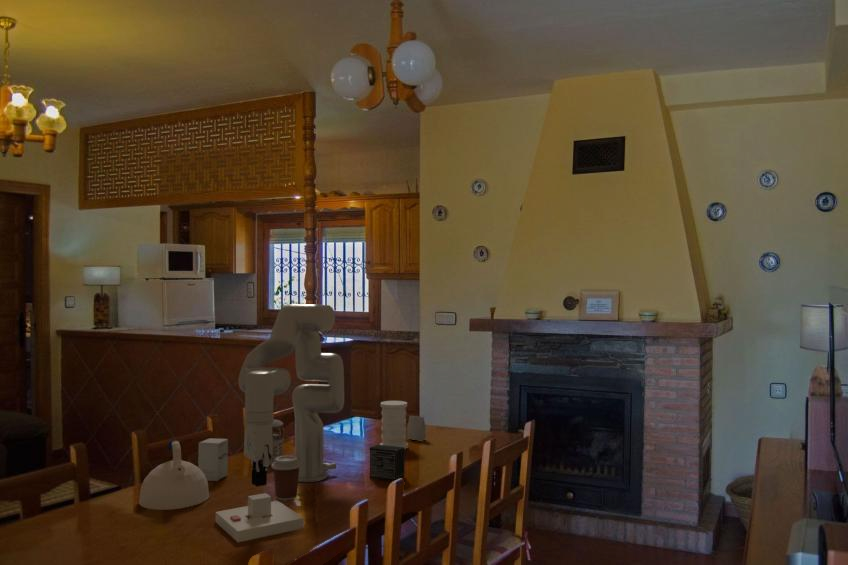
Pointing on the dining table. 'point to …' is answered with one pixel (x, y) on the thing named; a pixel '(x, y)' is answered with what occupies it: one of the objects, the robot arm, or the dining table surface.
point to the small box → (386, 462)
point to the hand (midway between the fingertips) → (259, 484)
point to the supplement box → (213, 458)
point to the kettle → (174, 484)
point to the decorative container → (394, 423)
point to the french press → (277, 441)
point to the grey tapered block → (416, 428)
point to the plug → (259, 506)
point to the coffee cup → (286, 477)
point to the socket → (258, 522)
